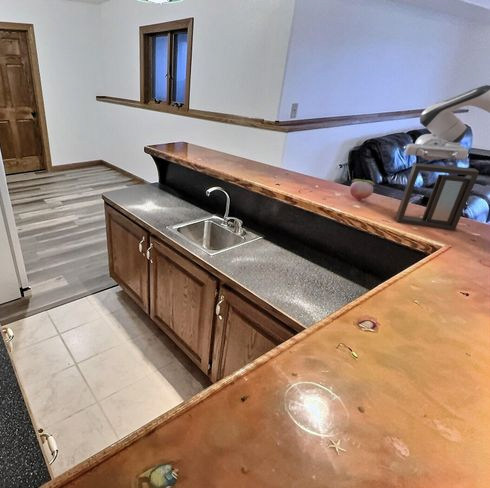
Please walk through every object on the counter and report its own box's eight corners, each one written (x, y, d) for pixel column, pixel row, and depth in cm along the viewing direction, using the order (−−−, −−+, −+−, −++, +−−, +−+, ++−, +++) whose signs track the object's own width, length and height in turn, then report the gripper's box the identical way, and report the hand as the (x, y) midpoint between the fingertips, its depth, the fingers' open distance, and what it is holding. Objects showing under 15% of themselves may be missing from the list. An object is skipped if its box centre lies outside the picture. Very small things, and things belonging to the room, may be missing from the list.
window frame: (451, 225, 130) (474, 168, 120) (454, 230, 125) (479, 171, 116) (395, 217, 136) (413, 162, 127) (397, 222, 132) (416, 165, 123)
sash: (442, 218, 132) (459, 174, 125) (445, 222, 128) (463, 177, 121) (420, 215, 135) (436, 171, 127) (422, 219, 131) (439, 175, 123)
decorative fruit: (370, 198, 156) (376, 177, 152) (370, 204, 150) (376, 181, 145) (347, 195, 160) (353, 174, 156) (346, 200, 154) (351, 178, 149)
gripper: (405, 138, 148) (410, 144, 136) (464, 143, 140) (475, 149, 129) (400, 154, 150) (405, 160, 139) (458, 158, 143) (468, 166, 131)
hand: (439, 154), depth 134 cm, fingers open, 8 cm apart
